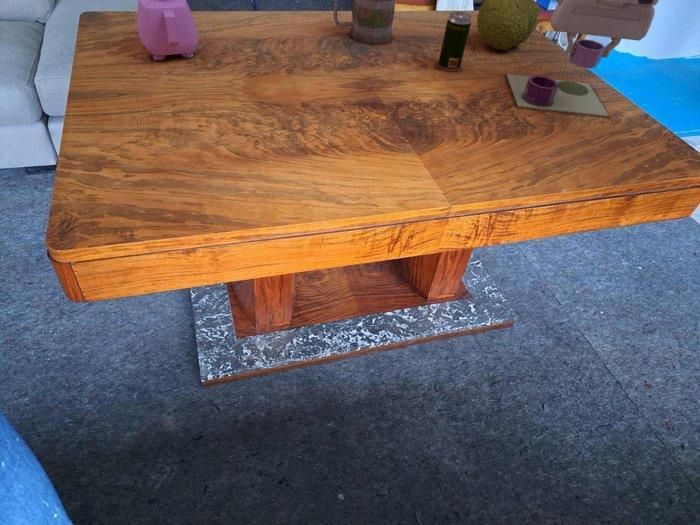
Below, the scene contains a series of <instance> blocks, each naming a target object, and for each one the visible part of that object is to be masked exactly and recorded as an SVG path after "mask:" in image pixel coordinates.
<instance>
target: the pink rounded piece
mask: <svg viewBox="0 0 700 525" xmlns="http://www.w3.org/2000/svg"><path fill="white" fill-rule="evenodd" d="M192 13H193V12H192V11H191V9H190V6H189V4H188V3H187V0H138V2H137V12H136V28H137V34H138V38H139V40H140V42H141V44H142V45H143V47H144V48H145V49H146V50H147V52H149V54H151V55H153V56H152V57H153V58H152V59H153V60H155V61H162V60H163V61H164V59H166V56H171V55H172V56H173V55H181V57H183V58H193V57H194V53H193V52H195V51H196V50H197V47H198V43H199V35H198V34H199V33H198V30H197V26H196V21H195V18H194V15H193V14H192Z"/></svg>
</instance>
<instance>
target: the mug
mask: <svg viewBox="0 0 700 525" xmlns="http://www.w3.org/2000/svg"><path fill="white" fill-rule="evenodd" d="M338 7H339V6H338V0H333V20H334V23H335V25H336V26H338V27H340V28H345V27H351V29H350V34H349V35H350V36H351V37H352V38H353V39H354V40H355V41H356V42H359V43H364V44H368V45H380V44H381V45H383V44H387V43H388V42H389V41H390V40H391V39H392V30H393V22H394V17H395V7H396V0H353V3H352V9H351V13H352V14H351V16H352V20H351V21H345V22H340V21H339V19H338Z"/></svg>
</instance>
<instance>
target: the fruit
mask: <svg viewBox="0 0 700 525" xmlns="http://www.w3.org/2000/svg"><path fill="white" fill-rule="evenodd" d="M539 11H540V9H539V7H538V5H537V2H535V0H484V1H483V3H481V5H480V8H479V10H478V14H477V18H476V22H477V25H476V29H477V31H478V33H479V36H480V38H481V40H482V41H483V42H484V43H485V44H486V45H487V46H489V47H490V48H492V49H493V50H501V51H503V50H504V51H506V50H507V51H508V50H509V49H511V48H512V47H514V46H515V47H516V46H519V45H521V44H523V43H525V42H526V41H527V40H528V38H530V37H531V35H532V33H533V32H534V31H535V29H536V27H537V24H538V23H537V22H538V20H539Z"/></svg>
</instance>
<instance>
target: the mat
mask: <svg viewBox="0 0 700 525" xmlns="http://www.w3.org/2000/svg"><path fill="white" fill-rule="evenodd" d="M530 77H531V76H528V75H527V76H526V75H519V74H509V73H507V74H506V78H507V81H508V83H509V87H510V89H511V92H512V95H513V98H514V100H515V103H516V105H517V108H523V109H532V110H539V111H540V110H541V111H549V112H550V111H551V112H560V113H567V114H577V115H585V116H594V117H603V118H609V116H610V115H609V113H608V112H607V111H606V109H605V107H604V105H603V104H602V103H601V101H600V98H598V95H597V94H596V93H595V91H594V88H592V86H591V84H590V83H589V82H581V81H572V80H563V79H555V78H552V79H553V80H555V81H557V83H558V85H559V87H558V89H557V92H556V95H555V97H554V100H552V102H551V104H549V105H546V106H540V105H535V104H532V103H530V102H528V101H526V100H525V99H524V90H525V87H526V85H527V82H528V79H529V78H530Z"/></svg>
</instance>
